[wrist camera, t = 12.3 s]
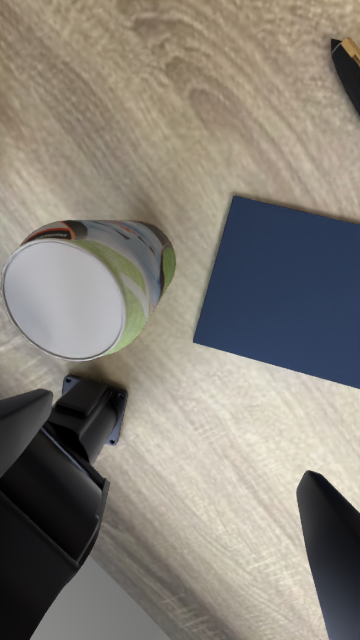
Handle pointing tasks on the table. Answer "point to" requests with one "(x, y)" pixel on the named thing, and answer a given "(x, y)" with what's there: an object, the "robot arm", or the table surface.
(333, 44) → the fountain pen
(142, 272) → the beverage can
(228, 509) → the table surface
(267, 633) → the table surface
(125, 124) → the table surface
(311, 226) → the blue hardcover notebook
